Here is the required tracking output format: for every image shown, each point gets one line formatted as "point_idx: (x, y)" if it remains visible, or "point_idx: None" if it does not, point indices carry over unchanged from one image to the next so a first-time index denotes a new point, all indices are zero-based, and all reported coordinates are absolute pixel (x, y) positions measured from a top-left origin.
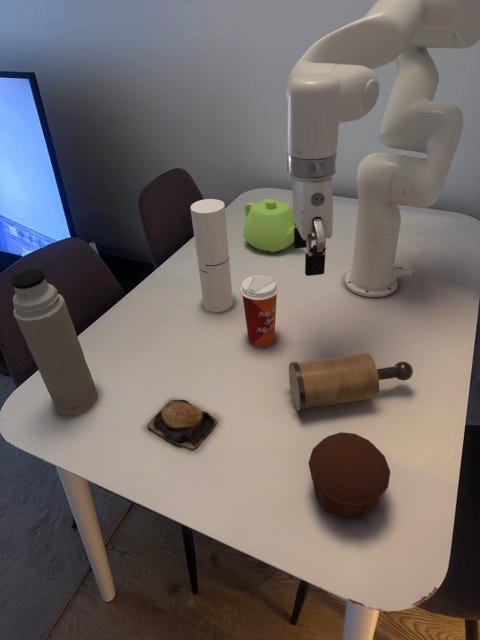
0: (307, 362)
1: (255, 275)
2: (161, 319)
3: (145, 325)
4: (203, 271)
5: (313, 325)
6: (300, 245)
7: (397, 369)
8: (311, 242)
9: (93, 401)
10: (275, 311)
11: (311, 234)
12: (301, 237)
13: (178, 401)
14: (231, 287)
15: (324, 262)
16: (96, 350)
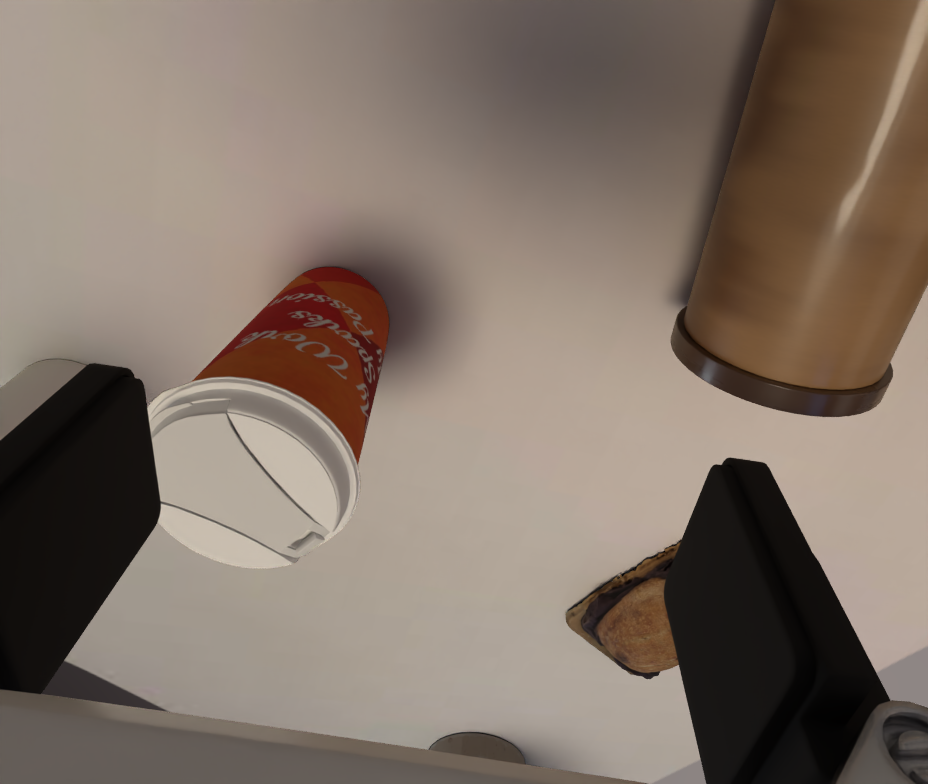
0: (774, 332)
1: None
2: (170, 586)
3: (198, 625)
4: None
5: (288, 49)
6: (141, 494)
7: None
8: (98, 391)
9: (502, 747)
10: (324, 336)
11: (27, 464)
12: (81, 557)
13: (613, 635)
14: (25, 408)
15: (812, 563)
16: (298, 723)
